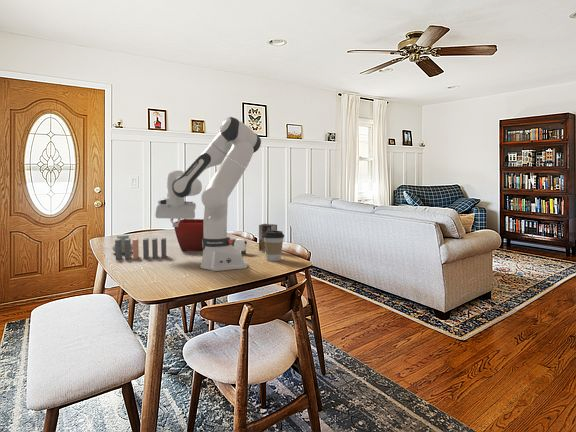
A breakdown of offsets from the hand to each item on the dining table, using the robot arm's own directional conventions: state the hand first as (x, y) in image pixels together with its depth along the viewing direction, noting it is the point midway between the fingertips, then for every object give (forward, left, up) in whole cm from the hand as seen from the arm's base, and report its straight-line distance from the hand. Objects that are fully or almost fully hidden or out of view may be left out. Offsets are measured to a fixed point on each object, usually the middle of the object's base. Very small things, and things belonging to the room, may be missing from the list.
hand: (175, 226), depth 193 cm
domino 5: (+11, 0, -16) cm, 19 cm away
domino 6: (+6, 0, -16) cm, 17 cm away
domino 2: (+24, 0, -16) cm, 29 cm away
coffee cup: (-51, +17, -16) cm, 56 cm away
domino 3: (+20, 0, -16) cm, 26 cm away
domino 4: (+15, 0, -16) cm, 22 cm away
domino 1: (+29, 0, -16) cm, 33 cm away
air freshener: (+29, -15, -16) cm, 37 cm away
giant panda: (-32, -2, -16) cm, 36 cm away
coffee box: (-51, -5, -16) cm, 54 cm away
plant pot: (-9, -21, -16) cm, 28 cm away
